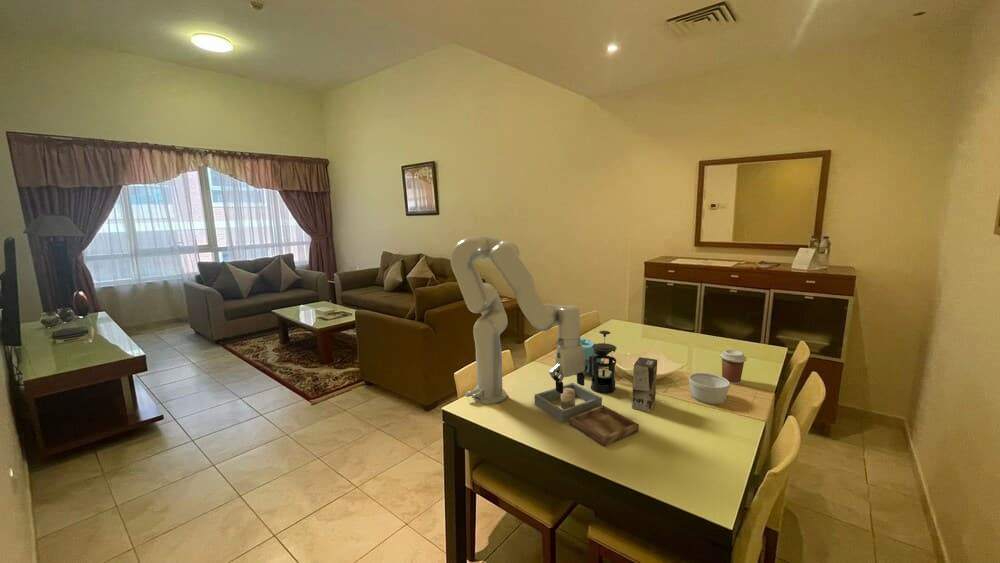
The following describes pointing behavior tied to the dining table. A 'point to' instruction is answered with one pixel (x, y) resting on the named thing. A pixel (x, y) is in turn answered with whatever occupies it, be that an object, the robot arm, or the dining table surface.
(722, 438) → the dining table surface
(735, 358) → the coffee cup
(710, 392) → the ramekin
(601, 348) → the french press
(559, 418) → the gray square frame
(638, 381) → the coffee box
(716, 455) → the dining table surface
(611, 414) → the walnut tray
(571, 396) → the maple spool
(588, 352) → the decorative pot
